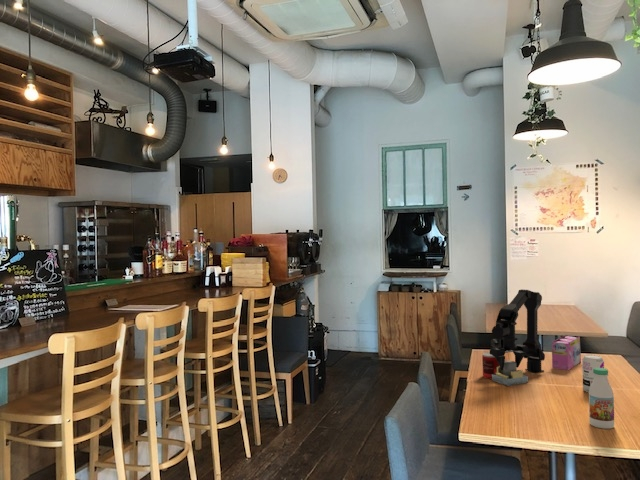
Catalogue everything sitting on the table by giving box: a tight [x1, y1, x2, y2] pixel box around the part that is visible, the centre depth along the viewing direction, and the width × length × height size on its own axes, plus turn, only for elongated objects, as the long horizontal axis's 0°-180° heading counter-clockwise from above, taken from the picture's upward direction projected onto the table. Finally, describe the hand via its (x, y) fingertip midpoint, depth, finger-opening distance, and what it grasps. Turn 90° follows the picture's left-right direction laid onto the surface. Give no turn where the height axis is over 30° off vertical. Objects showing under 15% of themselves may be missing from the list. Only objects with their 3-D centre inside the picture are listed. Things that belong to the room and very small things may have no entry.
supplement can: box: [581, 354, 605, 394], centre depth 215 cm, size 8×8×15 cm
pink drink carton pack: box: [551, 334, 582, 371], centre depth 262 cm, size 24×8×14 cm, turn 138°
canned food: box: [481, 351, 500, 380], centre depth 241 cm, size 8×8×11 cm
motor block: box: [491, 366, 529, 387], centre depth 233 cm, size 14×10×6 cm
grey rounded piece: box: [503, 360, 518, 377], centre depth 233 cm, size 6×6×6 cm
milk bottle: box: [588, 367, 615, 430], centre depth 177 cm, size 8×8×20 cm
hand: (509, 368), depth 233 cm, fingers open, 9 cm apart
